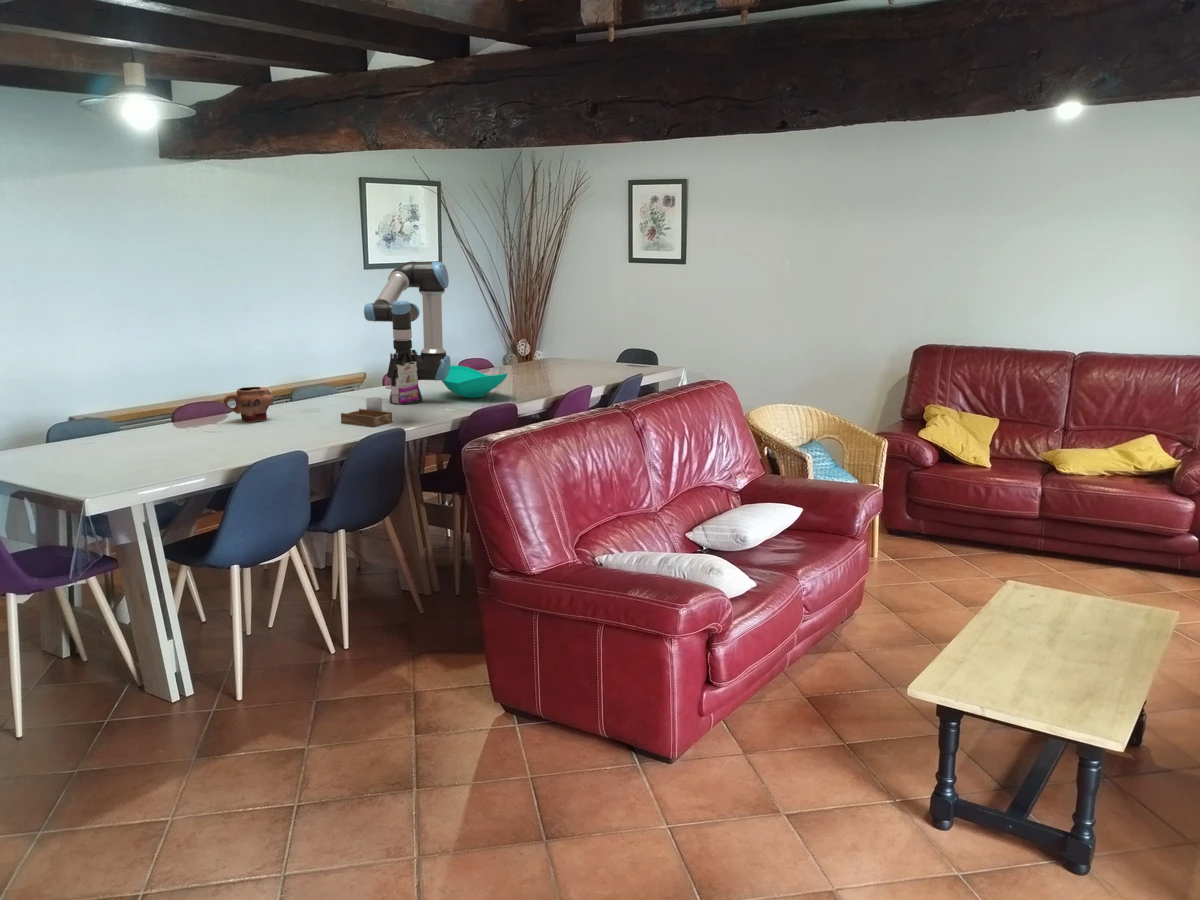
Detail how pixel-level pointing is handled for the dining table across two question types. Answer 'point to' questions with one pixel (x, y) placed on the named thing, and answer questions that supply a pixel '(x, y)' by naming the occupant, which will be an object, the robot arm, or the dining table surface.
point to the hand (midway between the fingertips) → (404, 391)
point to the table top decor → (471, 382)
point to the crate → (366, 418)
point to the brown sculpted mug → (251, 403)
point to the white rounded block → (374, 404)
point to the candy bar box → (406, 383)
